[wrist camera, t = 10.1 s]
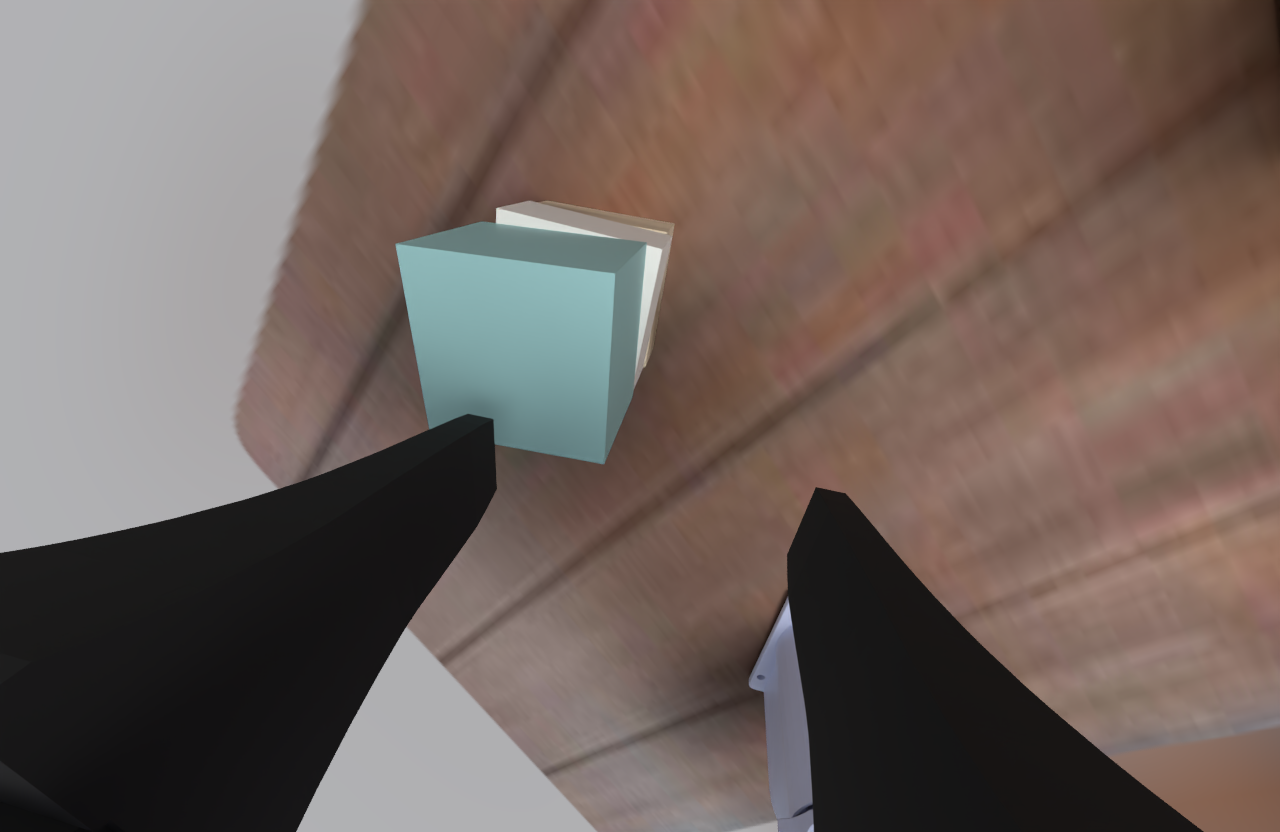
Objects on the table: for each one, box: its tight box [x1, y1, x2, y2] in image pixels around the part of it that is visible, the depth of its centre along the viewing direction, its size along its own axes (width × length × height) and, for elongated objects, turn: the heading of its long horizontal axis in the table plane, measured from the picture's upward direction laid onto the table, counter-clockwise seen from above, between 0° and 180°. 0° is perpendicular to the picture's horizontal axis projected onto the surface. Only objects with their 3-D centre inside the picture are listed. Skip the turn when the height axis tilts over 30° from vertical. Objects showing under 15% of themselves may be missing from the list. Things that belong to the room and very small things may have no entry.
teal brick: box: [396, 222, 647, 464], centre depth 13 cm, size 5×5×4 cm
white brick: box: [496, 201, 672, 390], centre depth 15 cm, size 5×5×2 cm
